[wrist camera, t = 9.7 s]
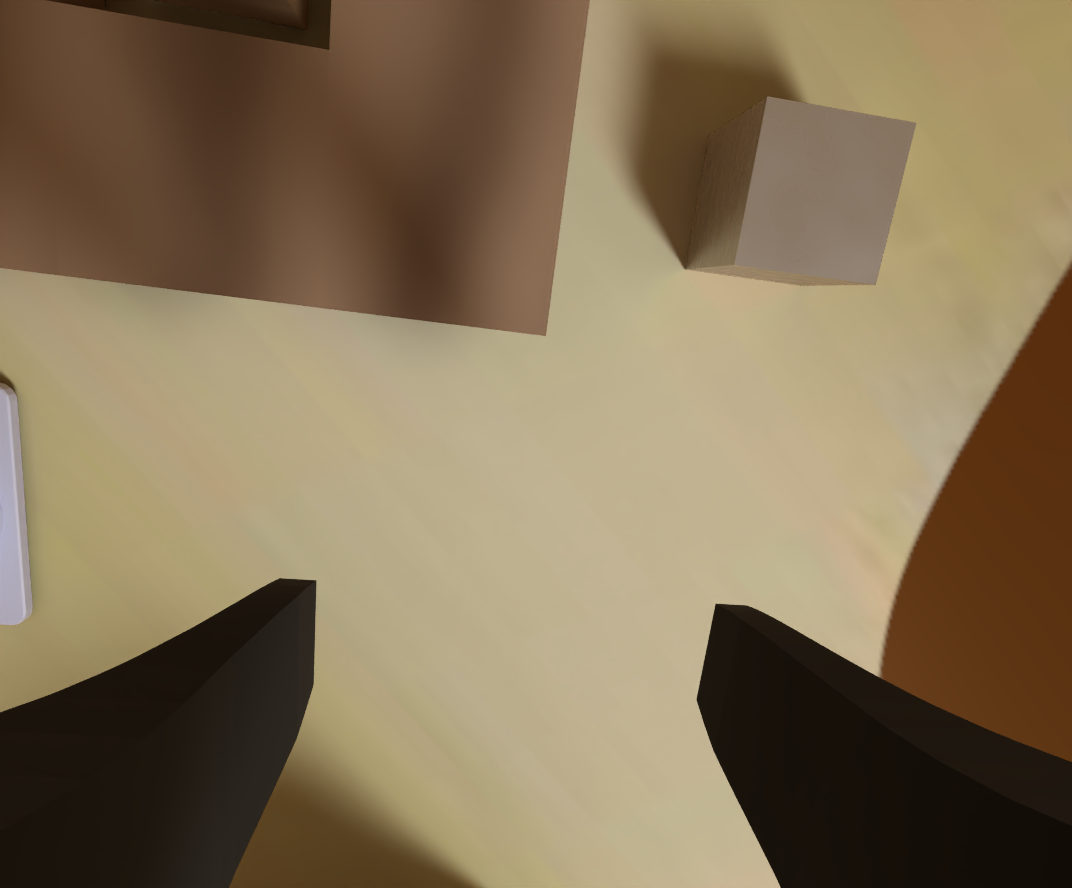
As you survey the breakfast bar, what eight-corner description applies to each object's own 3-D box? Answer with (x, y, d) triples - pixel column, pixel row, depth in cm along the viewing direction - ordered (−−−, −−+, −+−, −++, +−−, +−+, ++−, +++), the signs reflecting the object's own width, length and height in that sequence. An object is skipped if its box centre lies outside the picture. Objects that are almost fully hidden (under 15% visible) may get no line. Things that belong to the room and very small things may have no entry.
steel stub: (684, 269, 20) (734, 264, 16) (707, 135, 19) (767, 96, 15) (799, 285, 20) (875, 284, 16) (828, 155, 19) (916, 122, 15)
